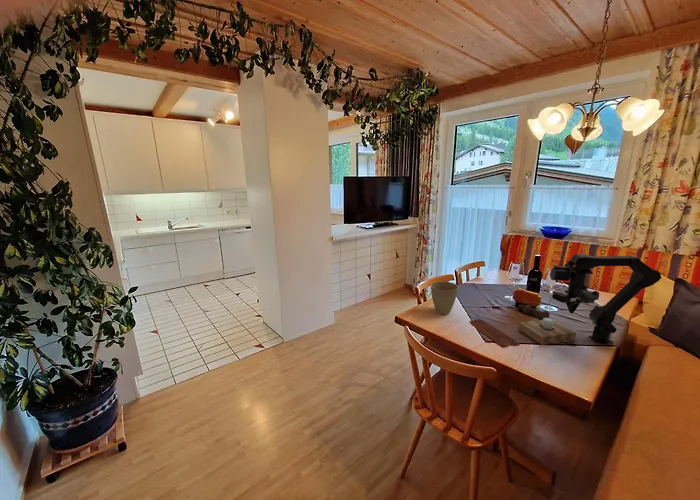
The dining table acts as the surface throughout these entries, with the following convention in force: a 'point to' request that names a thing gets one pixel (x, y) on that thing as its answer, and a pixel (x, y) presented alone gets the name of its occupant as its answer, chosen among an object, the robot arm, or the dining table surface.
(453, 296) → the plant pot
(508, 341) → the wooden tablet
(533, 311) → the bolt
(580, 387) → the dining table surface
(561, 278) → the robot arm
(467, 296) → the dining table surface
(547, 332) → the board
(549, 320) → the peg
